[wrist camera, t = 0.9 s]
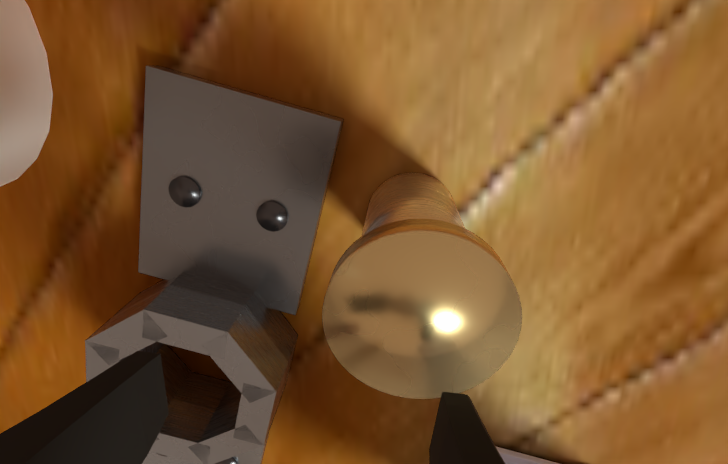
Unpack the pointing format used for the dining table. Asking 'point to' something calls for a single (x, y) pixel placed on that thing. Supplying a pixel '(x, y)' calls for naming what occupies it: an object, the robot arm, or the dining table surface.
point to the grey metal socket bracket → (221, 258)
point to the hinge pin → (420, 297)
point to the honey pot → (22, 90)
